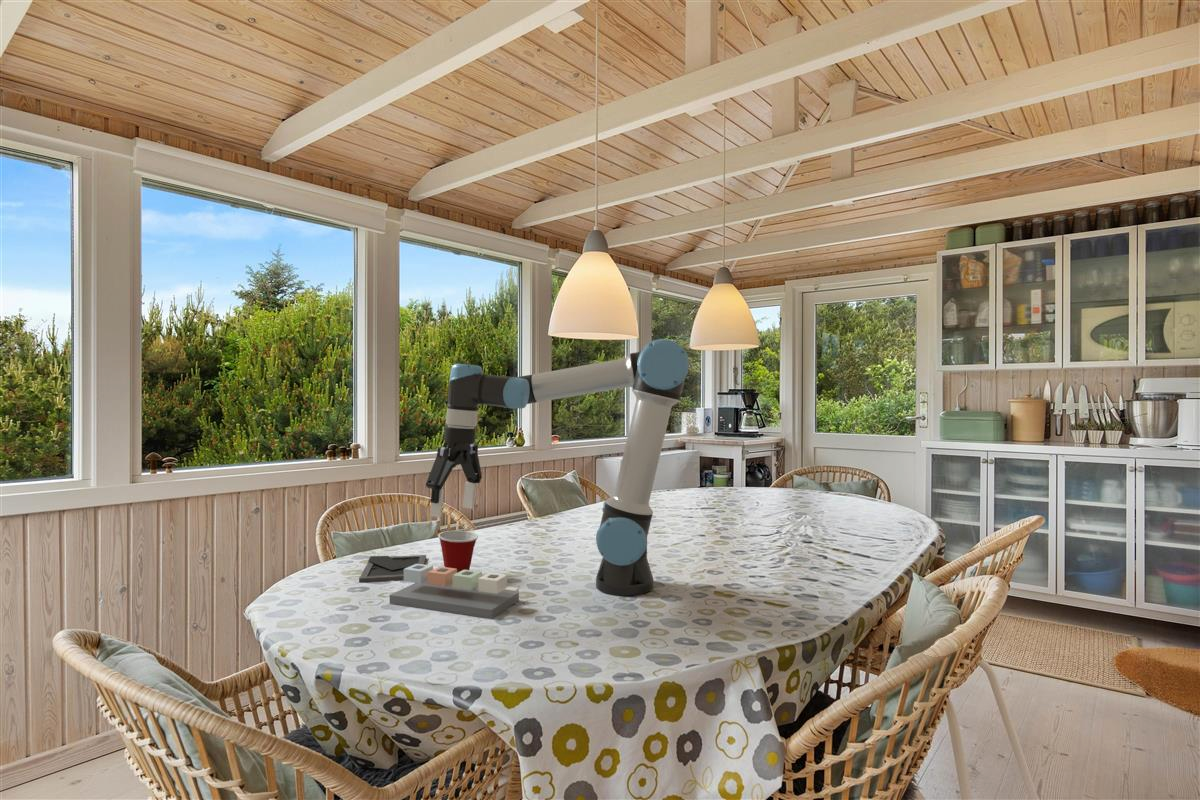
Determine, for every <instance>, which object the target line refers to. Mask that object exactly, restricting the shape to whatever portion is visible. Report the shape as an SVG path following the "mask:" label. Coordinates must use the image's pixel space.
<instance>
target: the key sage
mask: <svg viewBox="0 0 1200 800" xmlns="http://www.w3.org/2000/svg"><path fill="white" fill-rule="evenodd" d="M482 573H483V572H482V571H477V570H462V571H460V572H458V573H456V574H454V575H453V588H458V589H465V590H472V589H474V588H476V587H477V586H478V578H480V577H482V576H483V574H482Z"/></svg>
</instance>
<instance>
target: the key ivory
mask: <svg viewBox="0 0 1200 800" xmlns="http://www.w3.org/2000/svg"><path fill="white" fill-rule="evenodd" d="M507 587H508V574H503V573H495V572H487V573H486V574H483V575H482V577H480V578H478V591H480V592H488V593H495V594H497V593H499V592H501V591H502V590H504V589H505V588H507Z"/></svg>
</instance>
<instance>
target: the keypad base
mask: <svg viewBox="0 0 1200 800" xmlns="http://www.w3.org/2000/svg"><path fill="white" fill-rule="evenodd" d="M519 598H520V588H519V587H512V586H507V588H505V589H504V590H502V591H501V592H499V593H497V594H495V593H488V592H480V591H478V586H477V587H476V588H474V589H472V590H465V589H458V588H453V583H452V584H450V585H448V586H446V587H443V586H436V585H428V580H427V581H425V582H423V583H414V582H413V583H412V584H410V585H408V586H406V587H403V588H402V589H398V590H397V591H395V592H393V593H391V594H389V604H391V603H393V605H398V604H399V605H400V606H404V605H406V606H405V607H411V606H413V607H412V608H418V607H420V608H419V609H424V608H425V609H426V610H431V609H432V610H431V611H437V610H438V611H439V612H444V613H452V614H458V615H464V616H470V617H471V616H473V617H479V618H484V619H485V618H486V619H491V620H492V619H494V618H496V617H497V616H498V615H500V614H501V613H503V612H504V611H506V610H507V609H508V608H510V607H511V606H512V605H514V604H516V603H517V602H518V600H520V599H519ZM515 602H516V603H515ZM502 611H503V612H502ZM499 613H500V614H499Z"/></svg>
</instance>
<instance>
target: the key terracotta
mask: <svg viewBox="0 0 1200 800" xmlns="http://www.w3.org/2000/svg"><path fill="white" fill-rule="evenodd" d="M456 573H457V569H455V568H447V567H445V566H438V567H435V568H433V570H431V571H429V572H428V585H436V586H443V587H446V586H448V585H450V584H452V583H453V575H454V574H456Z"/></svg>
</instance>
